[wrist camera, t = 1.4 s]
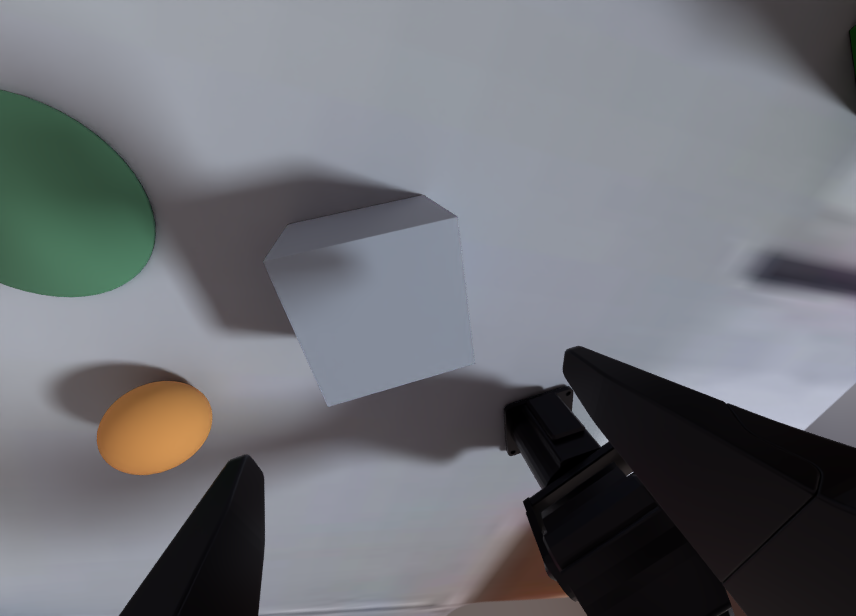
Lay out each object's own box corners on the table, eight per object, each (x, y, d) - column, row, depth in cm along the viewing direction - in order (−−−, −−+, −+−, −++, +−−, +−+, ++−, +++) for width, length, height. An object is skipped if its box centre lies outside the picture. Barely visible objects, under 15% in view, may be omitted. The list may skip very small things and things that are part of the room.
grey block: (442, 309, 22) (475, 363, 17) (331, 338, 21) (327, 407, 16) (423, 194, 18) (457, 216, 13) (287, 224, 17) (262, 261, 12)
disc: (191, 271, 17) (190, 273, 17) (4, 314, 16) (0, 316, 16) (75, 69, 13) (71, 68, 13) (-193, 108, 12) (-201, 107, 12)
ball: (237, 411, 22) (211, 477, 18) (159, 433, 21) (113, 507, 17) (200, 354, 20) (159, 414, 15) (111, 377, 19) (42, 447, 15)
